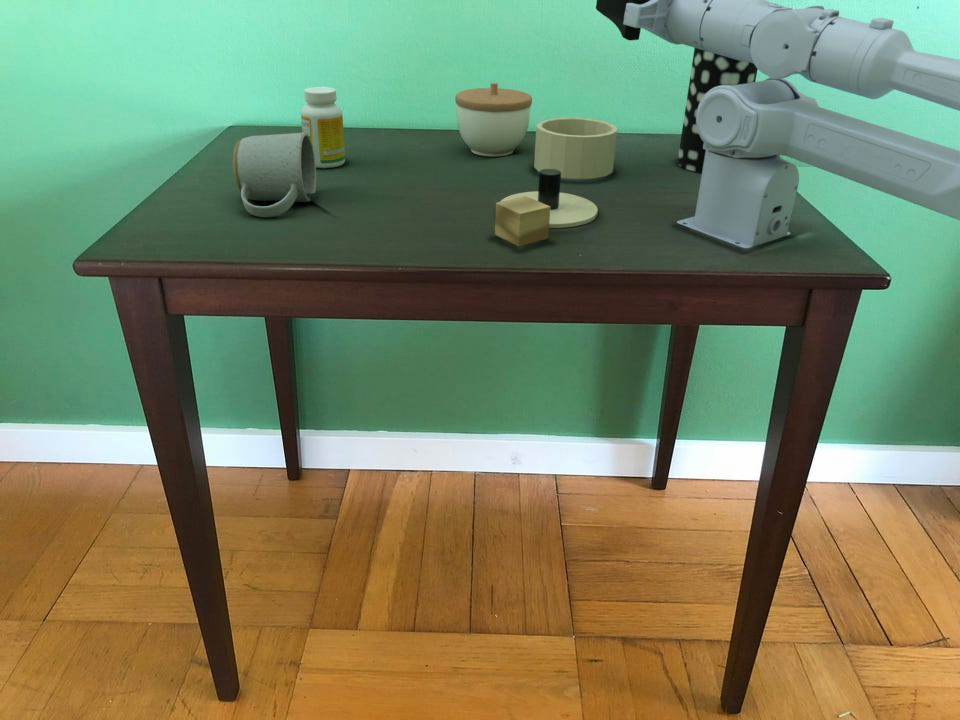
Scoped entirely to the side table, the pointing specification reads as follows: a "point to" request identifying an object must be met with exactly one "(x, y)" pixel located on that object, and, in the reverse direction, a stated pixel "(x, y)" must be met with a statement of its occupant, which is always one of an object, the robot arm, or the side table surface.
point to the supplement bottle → (324, 126)
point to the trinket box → (493, 119)
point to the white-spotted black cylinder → (703, 78)
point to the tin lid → (560, 202)
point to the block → (522, 220)
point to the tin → (575, 147)
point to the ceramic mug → (274, 171)
